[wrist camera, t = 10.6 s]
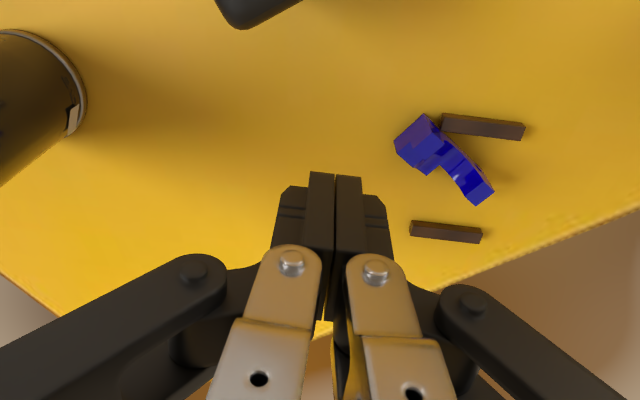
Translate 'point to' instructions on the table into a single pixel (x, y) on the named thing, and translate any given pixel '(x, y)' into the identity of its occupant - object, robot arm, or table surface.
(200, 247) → the table surface
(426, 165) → the cable holder
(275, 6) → the battery charger
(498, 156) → the table surface
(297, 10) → the table surface
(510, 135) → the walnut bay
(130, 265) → the table surface
